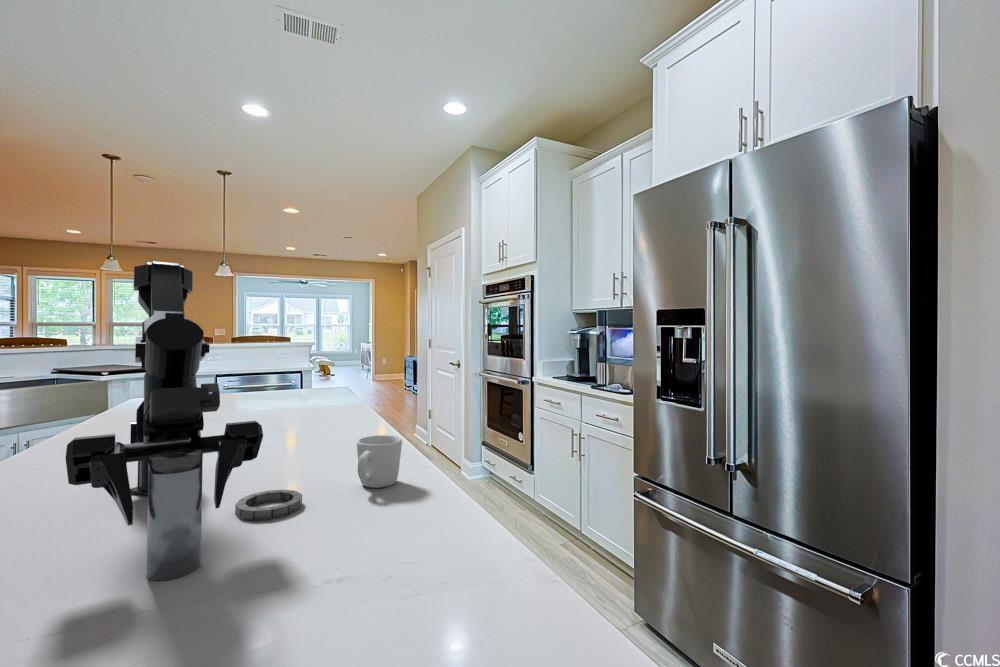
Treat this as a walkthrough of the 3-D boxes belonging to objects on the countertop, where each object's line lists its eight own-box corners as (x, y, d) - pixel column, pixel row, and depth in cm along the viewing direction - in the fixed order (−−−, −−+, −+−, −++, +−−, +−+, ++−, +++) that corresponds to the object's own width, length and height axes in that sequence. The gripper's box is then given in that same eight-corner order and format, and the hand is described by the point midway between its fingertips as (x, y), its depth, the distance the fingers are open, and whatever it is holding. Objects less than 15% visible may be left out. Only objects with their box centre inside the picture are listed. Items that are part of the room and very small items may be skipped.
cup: (382, 498, 75) (383, 450, 75) (338, 494, 76) (339, 447, 76) (408, 478, 85) (409, 436, 85) (369, 475, 87) (369, 433, 87)
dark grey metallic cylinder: (134, 577, 50) (137, 458, 50) (177, 556, 55) (179, 447, 55) (170, 584, 48) (172, 462, 49) (211, 561, 53) (213, 451, 53)
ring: (221, 516, 66) (221, 506, 66) (267, 496, 75) (267, 487, 75) (272, 523, 64) (273, 513, 64) (313, 501, 73) (313, 492, 73)
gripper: (69, 363, 49) (53, 495, 40) (261, 360, 61) (280, 461, 52) (75, 425, 55) (62, 550, 46) (248, 411, 67) (264, 509, 58)
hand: (176, 514), depth 50 cm, fingers open, 8 cm apart
